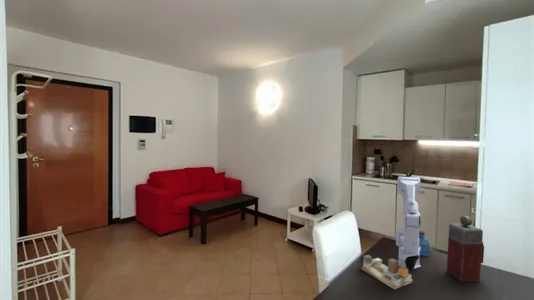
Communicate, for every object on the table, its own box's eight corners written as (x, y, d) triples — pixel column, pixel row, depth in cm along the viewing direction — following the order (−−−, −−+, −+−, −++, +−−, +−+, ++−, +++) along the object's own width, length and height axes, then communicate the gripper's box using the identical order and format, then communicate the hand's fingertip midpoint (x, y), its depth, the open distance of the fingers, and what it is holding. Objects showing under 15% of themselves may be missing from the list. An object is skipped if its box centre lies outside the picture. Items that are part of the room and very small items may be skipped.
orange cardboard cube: (402, 273, 117) (403, 266, 116) (407, 275, 114) (408, 269, 114) (398, 274, 115) (398, 268, 115) (403, 277, 113) (403, 270, 113)
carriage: (393, 269, 122) (393, 256, 122) (403, 274, 118) (403, 261, 117) (382, 273, 119) (383, 259, 119) (392, 278, 114) (393, 264, 114)
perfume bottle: (428, 256, 142) (429, 234, 141) (416, 254, 143) (417, 233, 142) (424, 251, 148) (425, 230, 147) (412, 250, 149) (413, 229, 148)
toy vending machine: (485, 280, 118) (488, 219, 116) (461, 281, 117) (464, 219, 115) (468, 270, 127) (472, 213, 125) (446, 271, 126) (449, 213, 124)
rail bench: (379, 264, 132) (379, 251, 132) (412, 282, 116) (413, 268, 116) (361, 269, 127) (361, 256, 127) (394, 289, 111) (394, 274, 110)
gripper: (409, 234, 123) (408, 262, 124) (393, 241, 115) (392, 272, 116) (426, 239, 118) (424, 268, 119) (410, 247, 109) (409, 279, 110)
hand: (409, 271), depth 117 cm, fingers closed
